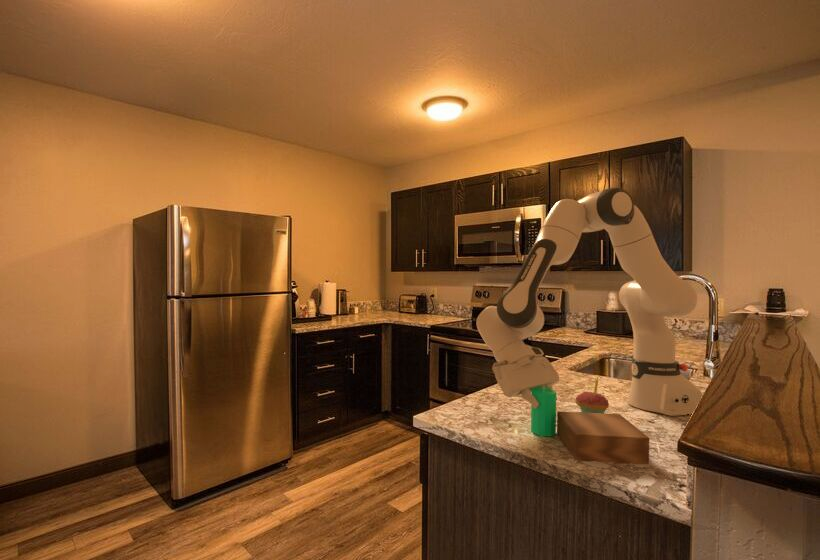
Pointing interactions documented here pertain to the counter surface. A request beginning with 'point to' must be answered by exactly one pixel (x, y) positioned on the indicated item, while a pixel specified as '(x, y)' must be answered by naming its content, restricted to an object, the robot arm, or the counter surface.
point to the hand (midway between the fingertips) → (546, 404)
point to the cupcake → (592, 401)
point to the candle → (544, 412)
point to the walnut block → (602, 438)
